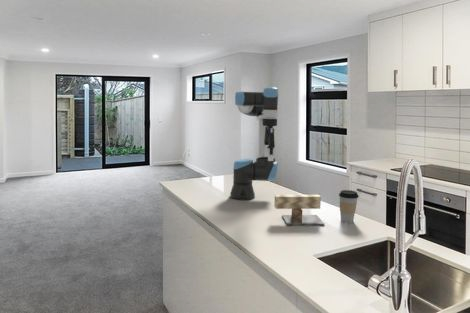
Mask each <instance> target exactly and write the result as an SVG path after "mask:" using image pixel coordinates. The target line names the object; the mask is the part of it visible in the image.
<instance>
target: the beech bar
mask: <svg viewBox="0 0 470 313" xmlns="http://www.w3.org/2000/svg"><path fill="white" fill-rule="evenodd" d="M321 200H322V197H321V195H320V194H274V208H275V209H276V210H278V209H279V210H283V209H284V210H289V209H290V210H292V209H302V210H304V209H306V210H308V209H310V210H312V209H315V210H318V209H321V202H322V201H321Z"/></svg>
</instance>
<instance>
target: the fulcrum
mask: <svg viewBox="0 0 470 313" xmlns="http://www.w3.org/2000/svg"><path fill="white" fill-rule="evenodd" d="M281 217H282V219H283V221H284V223H285V224H286V226H287V227H299V226H301V227H302V226H303V227H309V226H311V227H313V226H314V227H315V226H316V225H321V226H322V225H323V227H324V226H325V223H324V221H323V220H321V218H320V217H319V216H318V215H317V214H303V209H291V214H282V215H281ZM321 226H320V227H321ZM316 227H317V226H316Z"/></svg>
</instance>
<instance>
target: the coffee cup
mask: <svg viewBox="0 0 470 313" xmlns="http://www.w3.org/2000/svg"><path fill="white" fill-rule="evenodd" d="M338 196H339V211H340V213H339V214H340V221H341V222H342V223H345V224H352V223H354V218H355V213H356V209H357V204H358V199H359V196H360V195H359V194H358V192H357V191H356V190H349V189H343V190H340V192H339V193H338Z"/></svg>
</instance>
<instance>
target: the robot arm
mask: <svg viewBox="0 0 470 313" xmlns="http://www.w3.org/2000/svg"><path fill="white" fill-rule="evenodd" d="M278 102H279V89H278V88H277V87H264V88H263V91H236V92H235V97H234V105H235V106H237V109H238V111H239V112H240V113H241V114H243V115H246V116H249V117H256V119H257V121H258V156H257V158H256V159H255V160H256V161H254V159H253V158H243V159H242V158H241V159H237V160H235V161H234V162H233V168H232V169H233V175H232V176H233V178H232V179H233V182H232V186H231V187H232V188H231V190H230V192H229V193H230V194H229V195H230V196H229V197H230V198H231V199H233V200H240V201H247V200H248V201H249V200H253V199H255V197H256V196H255V195H256V194H255V190H254V187H253V181H258V182H260V181H261V182H263V181H264V182H270V181H271V182H272V181H275V180H276V178H277V172H278V161H276V158H275V157H274V155H275V154H274V152H275V147H276V146H275V128H274V127H277V126H278V113H279V111H278V104H279V103H278Z"/></svg>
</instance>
